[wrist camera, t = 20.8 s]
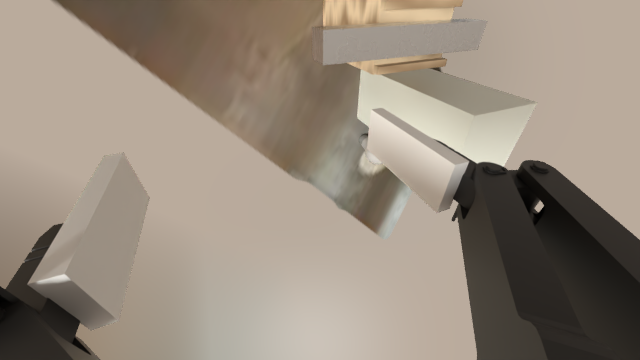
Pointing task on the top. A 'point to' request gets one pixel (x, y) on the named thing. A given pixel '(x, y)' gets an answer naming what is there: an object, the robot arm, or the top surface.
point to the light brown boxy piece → (389, 7)
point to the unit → (449, 110)
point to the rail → (394, 40)
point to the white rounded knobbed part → (369, 155)
